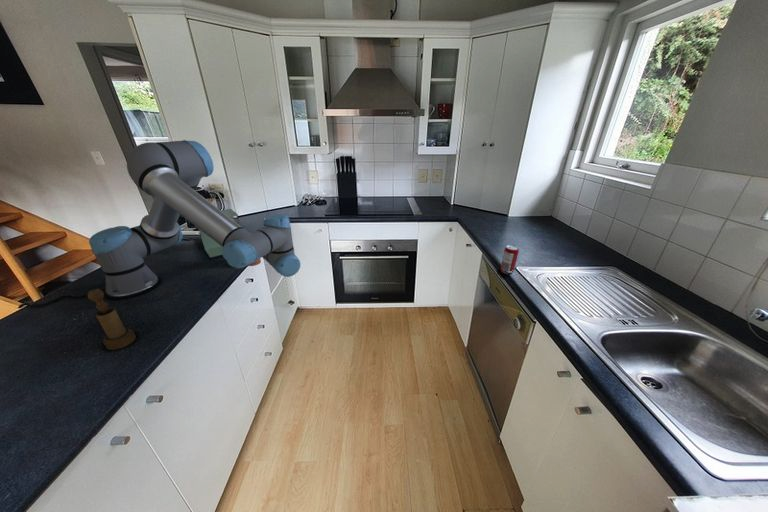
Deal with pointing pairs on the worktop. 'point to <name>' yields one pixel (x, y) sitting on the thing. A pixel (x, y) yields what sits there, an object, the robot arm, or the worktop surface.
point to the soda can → (509, 258)
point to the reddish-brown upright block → (255, 263)
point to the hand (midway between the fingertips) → (252, 234)
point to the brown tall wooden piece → (111, 323)
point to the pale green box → (209, 243)
